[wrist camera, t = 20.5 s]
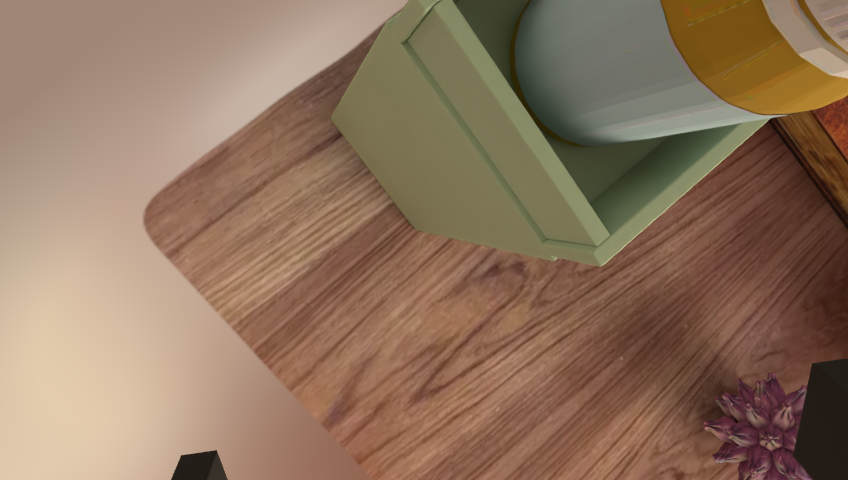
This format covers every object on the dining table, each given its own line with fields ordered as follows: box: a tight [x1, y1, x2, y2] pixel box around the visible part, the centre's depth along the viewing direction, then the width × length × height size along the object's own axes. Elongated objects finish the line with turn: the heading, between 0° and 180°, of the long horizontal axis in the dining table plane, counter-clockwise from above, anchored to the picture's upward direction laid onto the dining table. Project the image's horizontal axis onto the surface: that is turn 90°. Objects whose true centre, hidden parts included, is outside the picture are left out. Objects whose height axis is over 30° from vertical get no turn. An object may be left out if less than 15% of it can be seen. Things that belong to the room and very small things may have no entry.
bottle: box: [509, 0, 848, 147], centre depth 17 cm, size 7×7×15 cm
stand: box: [330, 0, 771, 267], centre depth 34 cm, size 12×12×30 cm
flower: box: [703, 373, 813, 480], centre depth 53 cm, size 12×12×12 cm
